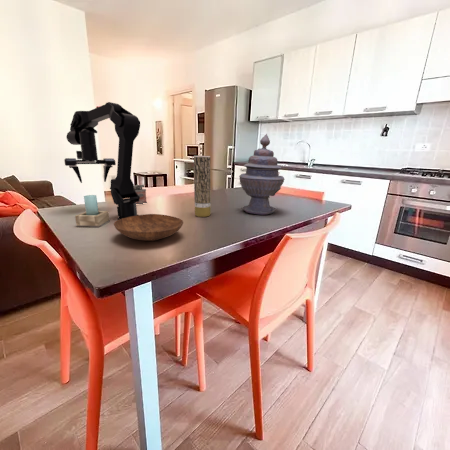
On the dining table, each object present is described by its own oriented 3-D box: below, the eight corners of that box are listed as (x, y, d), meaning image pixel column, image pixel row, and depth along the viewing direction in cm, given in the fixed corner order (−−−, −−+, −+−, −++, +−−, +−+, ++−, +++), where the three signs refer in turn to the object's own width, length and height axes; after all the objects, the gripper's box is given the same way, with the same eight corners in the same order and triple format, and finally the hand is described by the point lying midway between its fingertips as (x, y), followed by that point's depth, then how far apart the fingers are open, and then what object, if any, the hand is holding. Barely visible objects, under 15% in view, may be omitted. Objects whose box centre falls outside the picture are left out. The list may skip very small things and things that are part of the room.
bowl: (155, 224, 92) (154, 211, 91) (196, 236, 79) (196, 221, 77) (103, 236, 77) (101, 221, 76) (142, 254, 64) (141, 236, 63)
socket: (109, 221, 95) (108, 211, 93) (99, 227, 87) (97, 216, 86) (89, 220, 95) (87, 210, 93) (76, 226, 87) (75, 216, 86)
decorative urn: (226, 209, 115) (234, 130, 105) (254, 206, 128) (264, 136, 119) (259, 220, 101) (272, 130, 91) (287, 215, 114) (301, 137, 105)
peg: (101, 221, 93) (98, 195, 90) (96, 224, 89) (92, 197, 86) (91, 221, 93) (87, 195, 90) (85, 224, 89) (81, 196, 86)
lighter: (134, 205, 123) (133, 185, 120) (131, 204, 125) (129, 185, 122) (148, 203, 129) (146, 184, 127) (144, 202, 131) (143, 183, 128)
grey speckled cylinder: (211, 213, 109) (211, 155, 102) (209, 217, 102) (209, 155, 95) (196, 213, 109) (195, 155, 102) (193, 217, 103) (191, 155, 96)
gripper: (108, 145, 113) (112, 179, 118) (61, 144, 103) (67, 181, 108) (113, 145, 105) (117, 182, 109) (62, 143, 94) (68, 184, 99)
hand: (93, 182), depth 106 cm, fingers open, 9 cm apart
